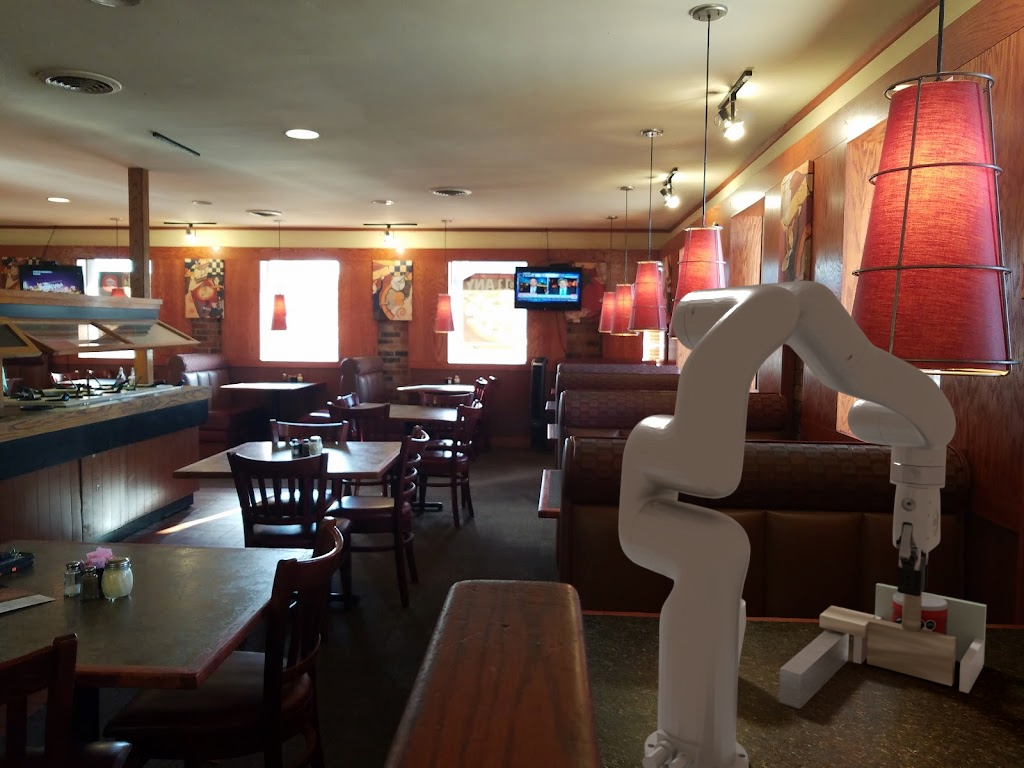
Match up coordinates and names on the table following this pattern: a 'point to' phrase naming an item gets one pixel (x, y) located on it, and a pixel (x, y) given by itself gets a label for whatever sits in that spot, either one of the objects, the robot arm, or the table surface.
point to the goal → (961, 623)
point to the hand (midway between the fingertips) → (912, 590)
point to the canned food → (925, 612)
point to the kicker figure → (899, 639)
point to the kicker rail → (812, 667)
